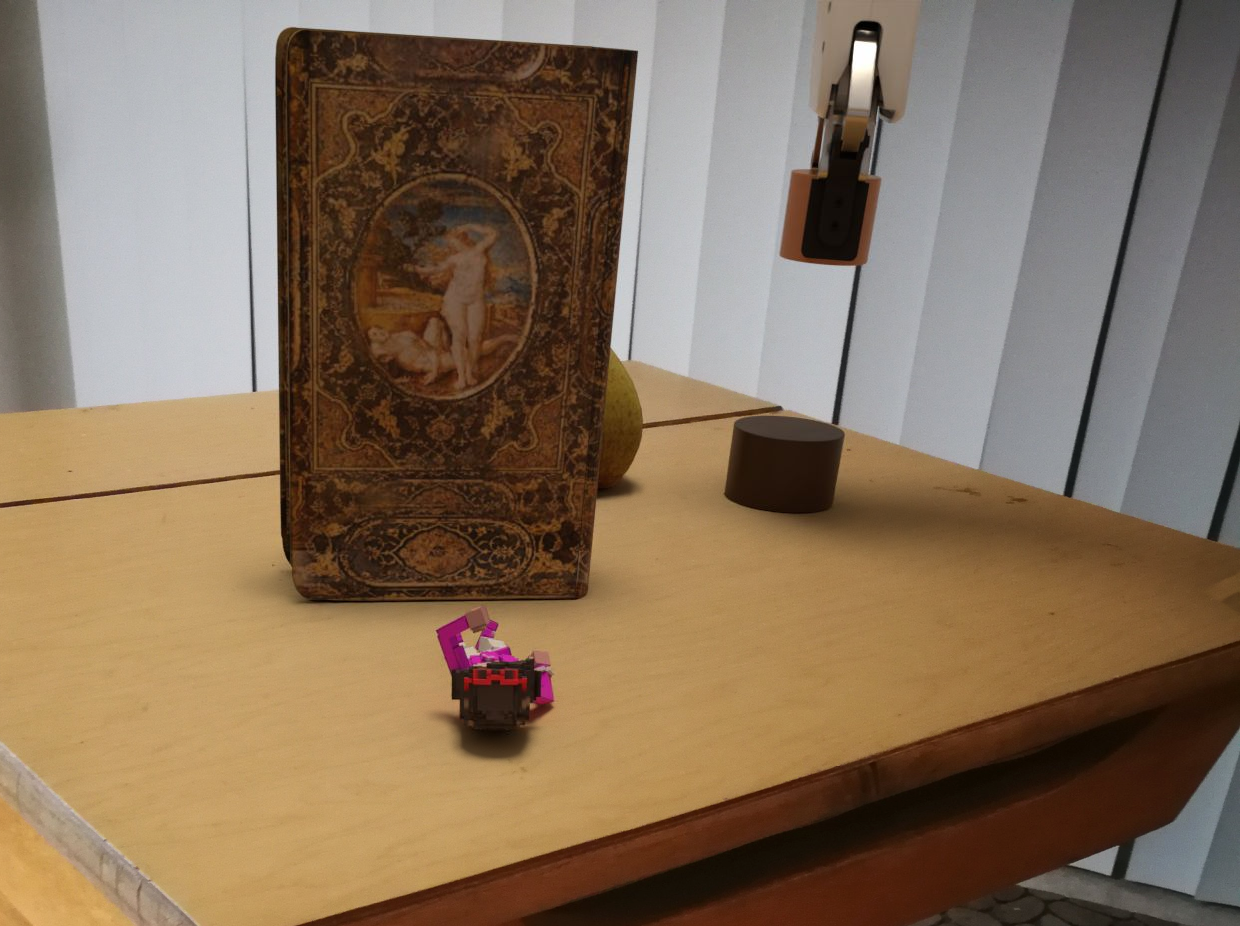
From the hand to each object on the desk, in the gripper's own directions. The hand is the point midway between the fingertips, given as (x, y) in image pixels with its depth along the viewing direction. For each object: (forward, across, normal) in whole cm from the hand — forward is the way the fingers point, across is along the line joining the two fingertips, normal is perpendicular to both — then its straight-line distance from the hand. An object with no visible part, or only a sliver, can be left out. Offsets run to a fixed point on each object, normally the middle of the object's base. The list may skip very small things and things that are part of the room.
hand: (825, 248), depth 90 cm
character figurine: (+16, -37, +14) cm, 43 cm away
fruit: (+16, +3, +14) cm, 21 cm away
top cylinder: (+1, 0, 0) cm, 1 cm away
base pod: (+15, +4, 0) cm, 16 cm away
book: (+16, -21, +19) cm, 33 cm away
